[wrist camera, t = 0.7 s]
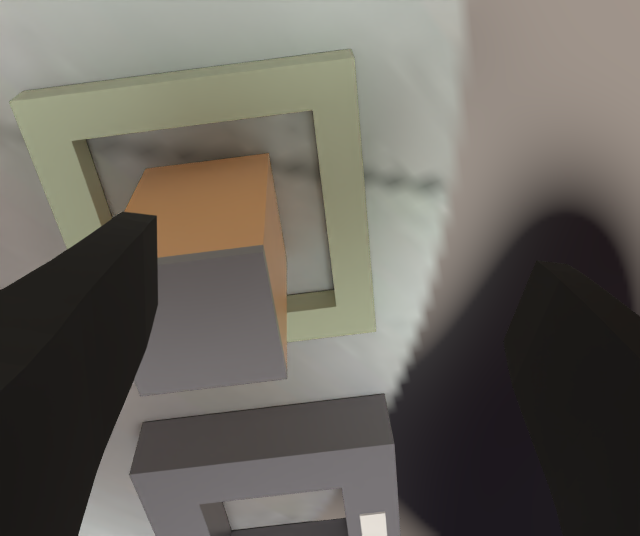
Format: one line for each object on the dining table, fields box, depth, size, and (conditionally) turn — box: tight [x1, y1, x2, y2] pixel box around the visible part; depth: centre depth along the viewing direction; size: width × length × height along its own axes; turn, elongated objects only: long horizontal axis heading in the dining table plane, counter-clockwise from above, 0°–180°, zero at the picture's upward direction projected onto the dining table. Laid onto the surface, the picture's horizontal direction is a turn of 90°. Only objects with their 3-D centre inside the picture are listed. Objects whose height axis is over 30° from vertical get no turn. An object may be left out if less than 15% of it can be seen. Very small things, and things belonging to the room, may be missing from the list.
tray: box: [9, 49, 376, 342], centre depth 22 cm, size 11×11×1 cm
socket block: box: [129, 394, 400, 536], centre depth 30 cm, size 12×12×3 cm
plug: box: [124, 153, 287, 396], centre depth 20 cm, size 4×4×7 cm
